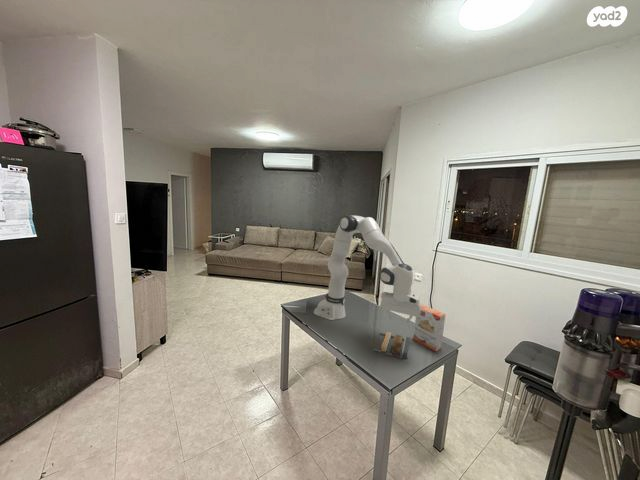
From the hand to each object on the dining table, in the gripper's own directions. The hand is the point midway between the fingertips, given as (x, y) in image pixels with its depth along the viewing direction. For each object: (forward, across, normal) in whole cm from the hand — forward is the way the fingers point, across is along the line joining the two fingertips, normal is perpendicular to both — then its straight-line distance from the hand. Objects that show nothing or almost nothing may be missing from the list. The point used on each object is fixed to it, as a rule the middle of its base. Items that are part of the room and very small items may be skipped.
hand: (398, 319), depth 130 cm
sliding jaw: (+18, -6, +3) cm, 19 cm away
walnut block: (+18, +1, +1) cm, 18 cm away
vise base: (+18, -2, +3) cm, 18 cm away
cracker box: (+17, +15, +14) cm, 27 cm away
